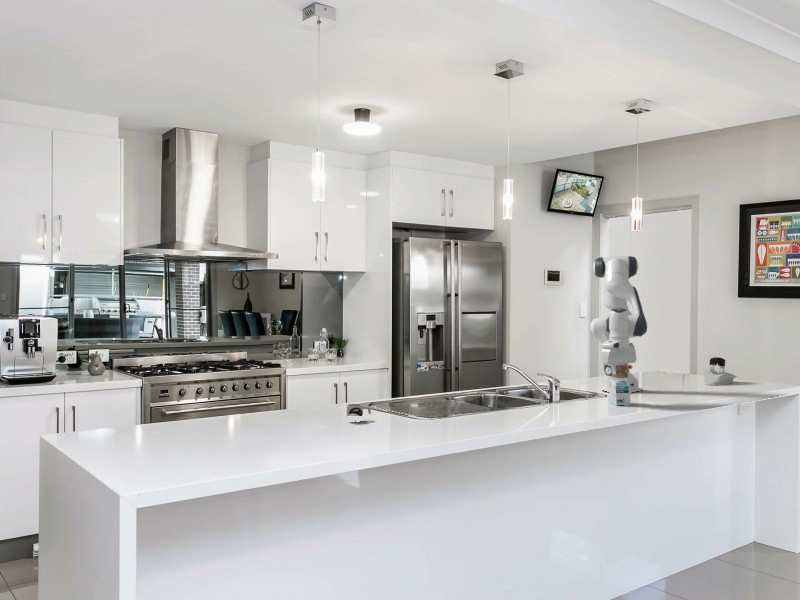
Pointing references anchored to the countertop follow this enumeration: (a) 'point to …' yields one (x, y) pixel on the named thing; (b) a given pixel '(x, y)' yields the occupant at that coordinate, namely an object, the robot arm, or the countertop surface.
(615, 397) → the light bulb box
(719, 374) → the iron
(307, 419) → the countertop surface
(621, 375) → the walnut cube
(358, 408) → the mug
